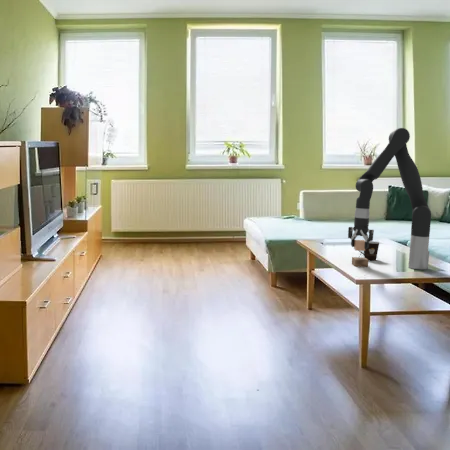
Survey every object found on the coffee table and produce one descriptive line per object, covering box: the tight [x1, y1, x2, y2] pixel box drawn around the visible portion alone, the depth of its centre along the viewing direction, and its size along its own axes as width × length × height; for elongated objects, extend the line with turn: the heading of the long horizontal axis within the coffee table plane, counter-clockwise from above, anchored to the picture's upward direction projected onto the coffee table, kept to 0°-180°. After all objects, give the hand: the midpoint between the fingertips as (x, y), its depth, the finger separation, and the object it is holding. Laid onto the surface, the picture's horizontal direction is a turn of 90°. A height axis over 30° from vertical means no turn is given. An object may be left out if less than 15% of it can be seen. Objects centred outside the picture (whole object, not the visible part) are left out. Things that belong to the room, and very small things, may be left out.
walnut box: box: [351, 256, 369, 268], centre depth 295 cm, size 7×7×4 cm
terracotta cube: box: [353, 239, 366, 252], centre depth 295 cm, size 5×5×5 cm
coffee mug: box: [358, 240, 380, 262], centre depth 316 cm, size 12×9×10 cm
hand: (359, 247), depth 295 cm, fingers closed on terracotta cube, 7 cm apart
